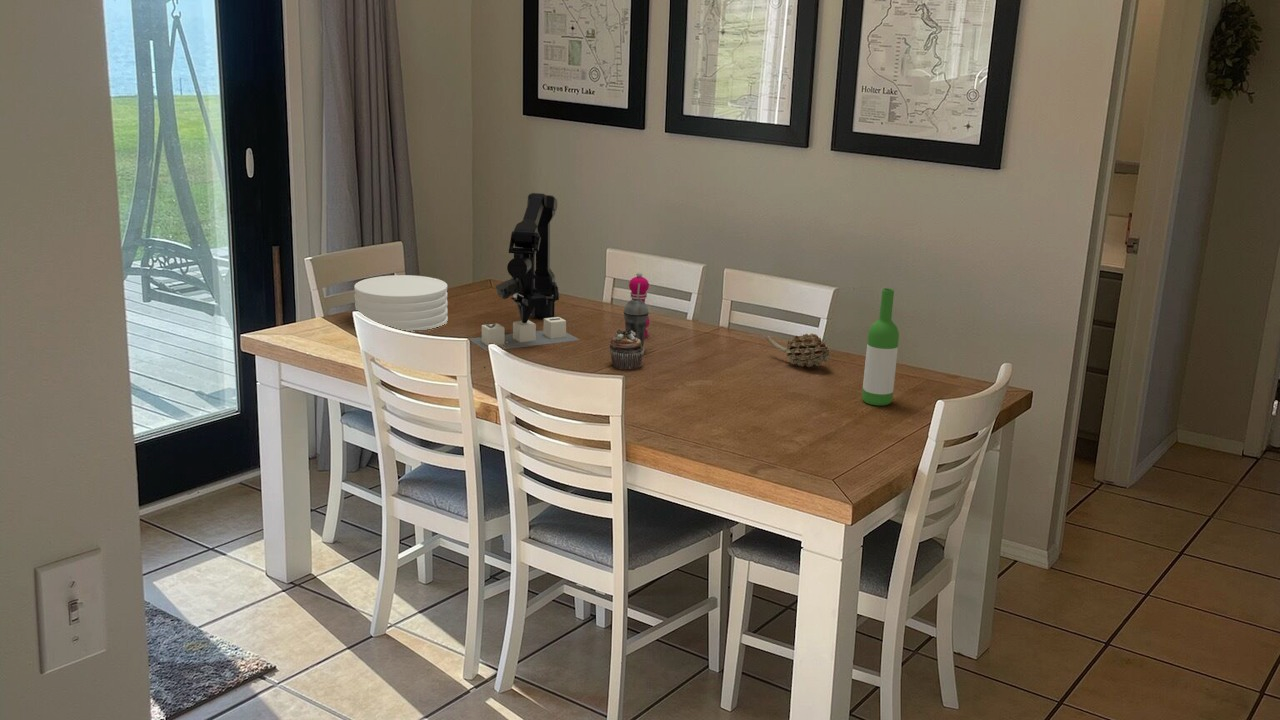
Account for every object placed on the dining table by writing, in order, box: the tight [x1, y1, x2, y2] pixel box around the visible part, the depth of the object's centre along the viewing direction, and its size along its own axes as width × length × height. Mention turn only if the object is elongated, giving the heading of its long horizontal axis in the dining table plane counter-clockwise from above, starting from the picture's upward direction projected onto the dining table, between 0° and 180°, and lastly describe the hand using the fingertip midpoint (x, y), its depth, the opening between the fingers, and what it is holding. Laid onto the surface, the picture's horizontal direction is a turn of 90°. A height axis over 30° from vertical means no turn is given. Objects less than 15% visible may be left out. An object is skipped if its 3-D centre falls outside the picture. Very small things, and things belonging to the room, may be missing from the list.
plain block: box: [512, 319, 537, 342], centre depth 341 cm, size 5×5×5 cm
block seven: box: [481, 323, 506, 345], centre depth 336 cm, size 5×5×5 cm
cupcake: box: [609, 329, 645, 370], centre depth 321 cm, size 10×10×10 cm
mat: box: [469, 329, 580, 352], centre depth 341 cm, size 30×14×1 cm, turn 121°
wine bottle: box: [861, 287, 900, 407], centre depth 296 cm, size 8×8×30 cm
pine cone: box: [766, 333, 831, 368], centre depth 329 cm, size 22×10×10 cm, turn 50°
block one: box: [543, 316, 567, 339], centre depth 346 cm, size 5×5×5 cm
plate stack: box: [353, 274, 449, 333], centre depth 357 cm, size 28×28×12 cm
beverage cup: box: [623, 284, 650, 348], centre depth 333 cm, size 7×7×20 cm
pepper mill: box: [628, 271, 650, 339], centre depth 349 cm, size 7×7×20 cm
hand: (524, 322), depth 340 cm, fingers closed
